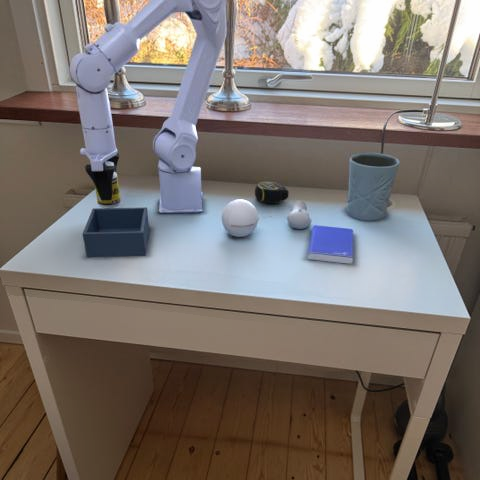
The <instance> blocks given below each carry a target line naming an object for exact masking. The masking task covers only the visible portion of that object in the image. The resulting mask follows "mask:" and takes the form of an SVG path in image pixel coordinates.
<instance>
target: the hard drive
mask: <svg viewBox="0 0 480 480" xmlns="http://www.w3.org/2000/svg"><path fill="white" fill-rule="evenodd" d="M308 246H309V247H308V250H307V251H308V252H307V259H308V260H312V261H321V262H329V263H339V264H353V262H354V261H353V260H354V229H352V228H349V227H348V228H347V227H337V226H328V225H327V226H326V225H318V224H314V225H312V230H311V234H310V241H309V245H308Z"/></svg>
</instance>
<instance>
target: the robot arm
mask: <svg viewBox="0 0 480 480" xmlns="http://www.w3.org/2000/svg"><path fill="white" fill-rule="evenodd" d="M227 3H228V0H148V1H147V3H145V5H143V6H142V7H141V8H140V10H138V12H136V14H135V15H133V17H131V19H129V20H128V22H127V23H123V22H120V21H119V22H118V21H116V22H114V24H112V23H107V24H106V25H105V26H104V27H103V30H104V33H103V34H101V35H100V36H99V37H98V38H97V39H96V40H94V42H92V43H91V44H90V43H87V44H86V45H84V49H85V51H86V52H80V53H77V54H76V55H74V57H73V58H72V59H71V61H70V64H69V70H68V75H69V78H70V79H71V80H72V82H73V83H74V84H75V92H76V96H77V97H76V98H77V106H78V113H79V118H80V124H81V129H82V134H83V141H84V146H85V147H82V148H80V150H79V153H80V155H83V156H86V157H87V159H88V160H89V162H90V164H85V166H84V169H85V172H86V174H87V175H88V176H89V178H90V179H91V181H92V182H93V184H94V188H95V187H96V189H97V191H98V194H99V196H100V199H101V200H112V182H113V174H114V172H116V173H117V167H118V163H119V159H120V157H121V155H120V153H118V148H117V145H116V140H115V138H116V137H115V131H114V124H113V117H112V109H111V103H110V102H111V101H110V99H109V92H108V88H109V85H110V84H111V77H112V76H114V75H115V74H116V73H118V72H119V71H120V70H121V69H122V68H123V67H125V65H126V64H127V63H129V61H131V60H132V59H133V58H134V57H135V56H136V55H137V54H139V50H140V41H141V40H143V39H144V38H145V37H146V36H147V35H148V34H150V33H151V32H152V31H153V30H155V28H157V27H158V26H159V25H161V23H162V24H163V22H164V21H165V20H167V19H168V18H169V17H170V16H171V15H173V14H177V13H185V14H186V16H187V18H188V19H189V20H190V22H191V25H192V27H193V29H194V31H195V39H194V42H193V46H192V49H191V52H190V55H189V58H188V61H187V65H186V67H185V70H184V73H183V77H182V80H181V82H180V83H181V84H180V86H179V89H178V93H177V95H176V99H175V102H174V104H173V108H172V111H171V113H170V116H169V117H168V118H167V119H166V120H165V121H164V122H163V124H162V126H161V129H160V131H159V132H158V133H156V134H155V136H154V138H153V141H152V150H153V153H154V155H155V156H156V158H158V164H157V171H158V180H159V181H158V182H159V192H160V193H159V194H160V198H159V207H158V213H159V214H185V213H202V212H203V201H204V193H203V191H202V167H201V166H193V165H194V163H195V162H196V158H197V151H196V150H197V149H196V147H197V143H198V140H199V137H198V133H197V129H196V126H197V123H198V119H199V117H200V114H201V111H202V108H203V106H204V103H205V99H206V97H207V93H208V91H209V89H210V85H211V82H212V78H213V76H214V73H215V70H216V67H217V64H218V62H219V59H220V56H221V53H222V50H223V48H224V44H225V41H226V38H227V8H226V5H227ZM105 161H110V162H113V163H114V166H107V164H106V165H105ZM114 170H115V171H114ZM96 189H95V190H96Z"/></svg>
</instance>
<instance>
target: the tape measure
mask: <svg viewBox="0 0 480 480" xmlns="http://www.w3.org/2000/svg"><path fill="white" fill-rule="evenodd" d="M254 188H255V189H254V196H255V198H256V200H257V201H259V202H261V203H265V204H276V203H279V202H282V201H285V200H287V199H288V198H289V190H288V189H287V188H286V187H285V186H283V185H281V184H279V183H277V182H276V181H273V180H270V181H261V182H259V183H257V184H256V186H255V187H254Z"/></svg>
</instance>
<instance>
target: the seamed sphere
mask: <svg viewBox="0 0 480 480" xmlns="http://www.w3.org/2000/svg"><path fill="white" fill-rule="evenodd" d="M272 217H273V215H272V216H268V218H272ZM263 218H264V219H265V216H263V217H261V216H260V217H259V213H258V210H257V209H256V207H255V205H254V204H252V202H250V201H249V200H245V199H243V198H238V199H234V200H231V201H230V202H229V203H227V204H226V205H225V207H224V208H223V210H222V213H221V223H222V227H223V228H224V229H225V232H227V233H228V234H230V235H231V236H233V237H237V238H243V237H247V236H249V235H250V234H252V233H253V232H254V231H255V230H256V228H257V227H258V223H259V219H263Z"/></svg>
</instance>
